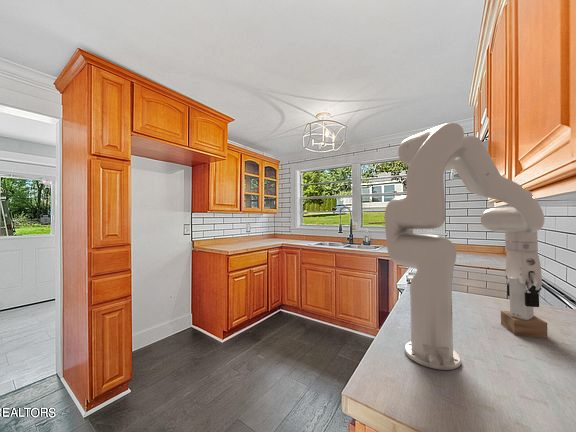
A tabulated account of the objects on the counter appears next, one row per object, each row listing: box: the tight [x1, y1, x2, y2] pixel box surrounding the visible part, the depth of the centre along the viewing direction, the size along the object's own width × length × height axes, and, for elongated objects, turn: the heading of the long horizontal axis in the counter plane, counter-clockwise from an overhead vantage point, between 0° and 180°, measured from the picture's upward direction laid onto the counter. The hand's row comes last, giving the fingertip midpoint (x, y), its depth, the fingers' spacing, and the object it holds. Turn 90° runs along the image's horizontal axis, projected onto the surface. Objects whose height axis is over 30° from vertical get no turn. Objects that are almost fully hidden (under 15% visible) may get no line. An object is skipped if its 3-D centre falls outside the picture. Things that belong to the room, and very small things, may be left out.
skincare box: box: [509, 277, 535, 320], centre depth 80 cm, size 6×4×12 cm
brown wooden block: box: [500, 310, 548, 339], centre depth 79 cm, size 8×8×4 cm
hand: (522, 301), depth 79 cm, fingers open, 9 cm apart
